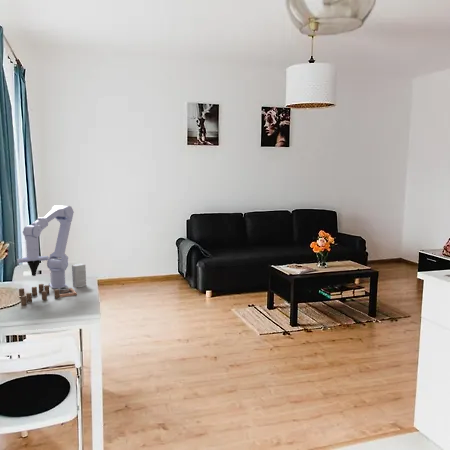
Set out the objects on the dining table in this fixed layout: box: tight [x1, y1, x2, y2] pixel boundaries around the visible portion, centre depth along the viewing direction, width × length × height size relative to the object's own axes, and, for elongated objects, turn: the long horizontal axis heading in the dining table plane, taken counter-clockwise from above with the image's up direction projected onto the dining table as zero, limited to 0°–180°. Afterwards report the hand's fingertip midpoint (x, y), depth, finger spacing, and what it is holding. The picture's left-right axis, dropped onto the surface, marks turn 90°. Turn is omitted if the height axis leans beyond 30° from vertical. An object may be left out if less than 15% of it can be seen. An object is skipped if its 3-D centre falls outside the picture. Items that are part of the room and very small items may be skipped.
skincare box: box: [71, 262, 87, 289], centre depth 258 cm, size 6×4×12 cm
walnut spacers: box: [18, 283, 61, 306], centre depth 238 cm, size 20×18×4 cm
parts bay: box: [60, 287, 78, 298], centre depth 245 cm, size 10×9×1 cm
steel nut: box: [56, 287, 70, 294], centre depth 244 cm, size 6×5×3 cm
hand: (33, 275), depth 239 cm, fingers closed
